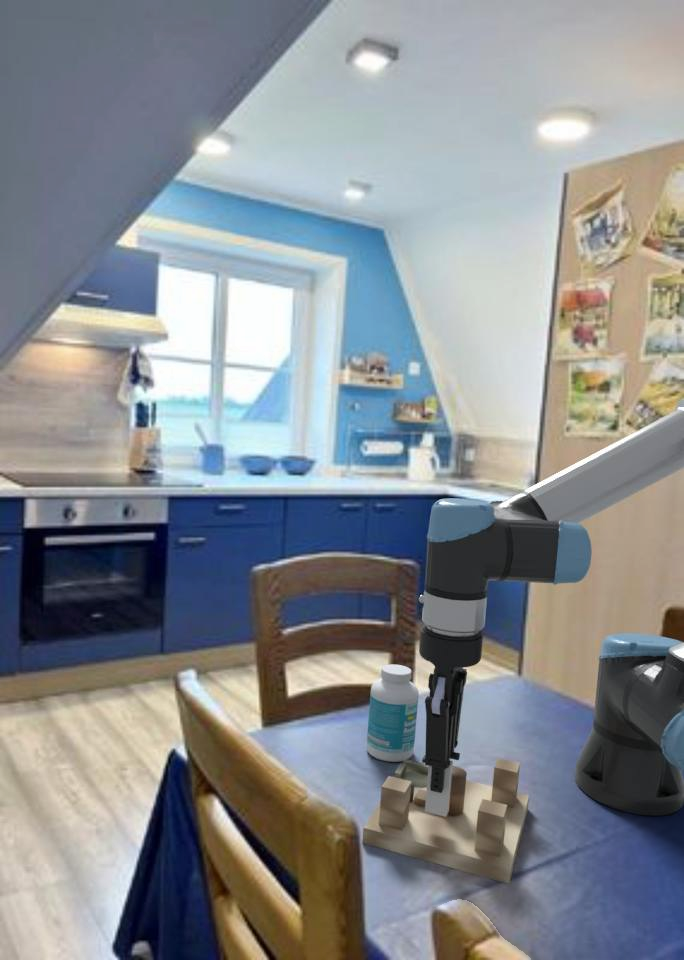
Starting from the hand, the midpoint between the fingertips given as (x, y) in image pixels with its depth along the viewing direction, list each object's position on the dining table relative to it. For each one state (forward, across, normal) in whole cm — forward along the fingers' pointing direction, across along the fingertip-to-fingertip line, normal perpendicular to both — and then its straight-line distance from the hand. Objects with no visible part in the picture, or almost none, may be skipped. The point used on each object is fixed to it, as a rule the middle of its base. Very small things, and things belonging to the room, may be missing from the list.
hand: (436, 811), depth 95 cm
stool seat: (+4, -5, +1) cm, 7 cm away
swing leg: (+2, -5, -1) cm, 6 cm away
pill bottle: (+5, -21, -12) cm, 25 cm away
